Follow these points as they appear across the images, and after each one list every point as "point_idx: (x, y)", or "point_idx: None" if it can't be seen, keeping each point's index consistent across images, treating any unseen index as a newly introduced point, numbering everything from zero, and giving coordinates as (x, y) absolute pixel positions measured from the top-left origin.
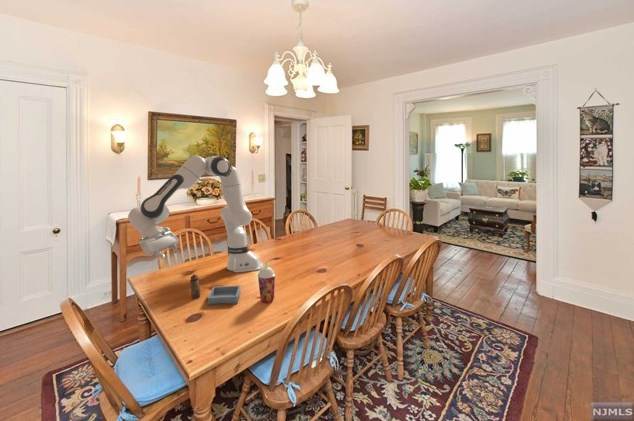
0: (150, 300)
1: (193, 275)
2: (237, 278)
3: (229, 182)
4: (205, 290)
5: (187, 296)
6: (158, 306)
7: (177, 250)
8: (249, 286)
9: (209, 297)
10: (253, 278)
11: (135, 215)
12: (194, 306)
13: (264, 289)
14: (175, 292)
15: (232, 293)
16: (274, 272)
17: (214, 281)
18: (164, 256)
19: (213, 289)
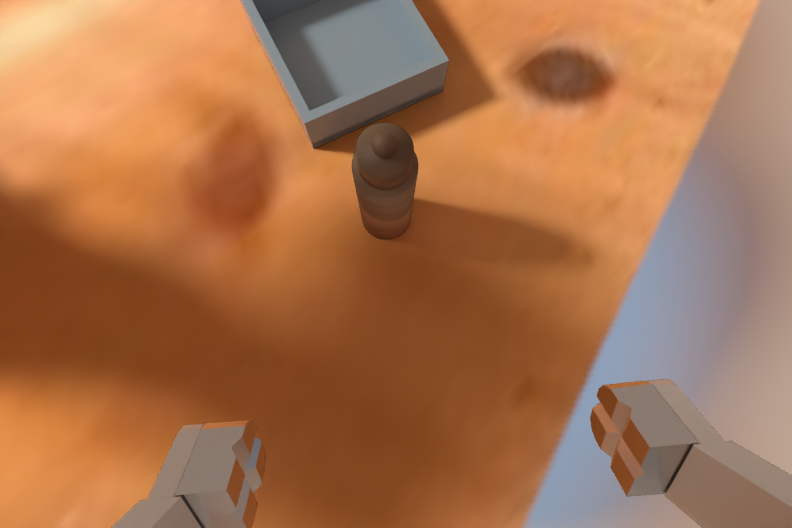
0: (532, 456)
1: (395, 138)
2: (62, 148)
3: None
4: (288, 223)
5: (396, 268)
6: (565, 335)
7: (207, 443)
8: (164, 25)
9: (440, 55)
10: (43, 59)
11: None
12: (479, 147)
13: None
14: (377, 389)
15: (291, 42)
16: None
17: (143, 260)
18: (648, 389)
19: (338, 98)
